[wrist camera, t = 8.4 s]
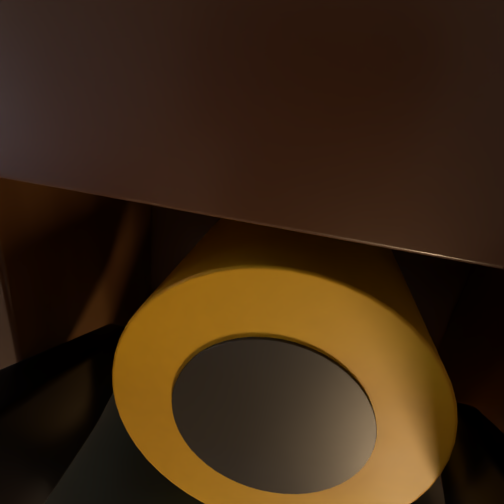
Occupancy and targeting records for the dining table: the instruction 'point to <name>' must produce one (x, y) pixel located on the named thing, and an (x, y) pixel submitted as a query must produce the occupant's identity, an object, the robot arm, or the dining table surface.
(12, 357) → the drawer
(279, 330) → the tape roll
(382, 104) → the cabinet
